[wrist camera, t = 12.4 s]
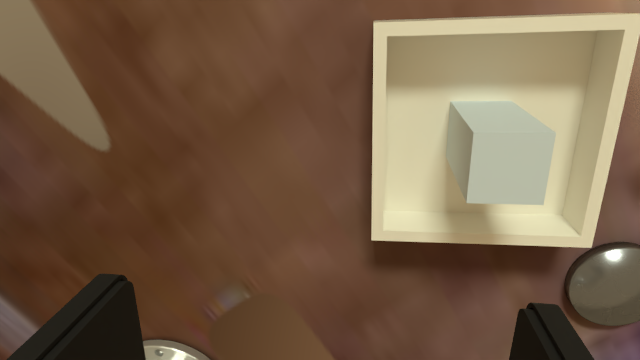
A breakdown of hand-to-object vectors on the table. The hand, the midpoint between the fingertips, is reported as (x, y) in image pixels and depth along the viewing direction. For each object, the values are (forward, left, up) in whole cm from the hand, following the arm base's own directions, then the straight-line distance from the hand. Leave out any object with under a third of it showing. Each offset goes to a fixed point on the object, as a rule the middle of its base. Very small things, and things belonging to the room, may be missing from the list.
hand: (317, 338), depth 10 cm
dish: (-1, -8, -23) cm, 24 cm away
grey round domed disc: (-13, -20, -23) cm, 33 cm away
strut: (-1, -8, -22) cm, 24 cm away
